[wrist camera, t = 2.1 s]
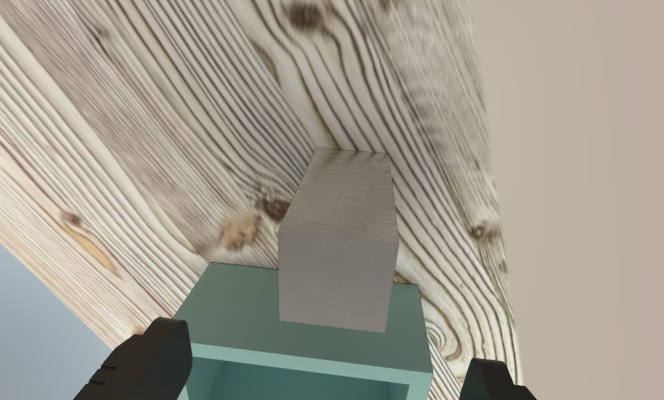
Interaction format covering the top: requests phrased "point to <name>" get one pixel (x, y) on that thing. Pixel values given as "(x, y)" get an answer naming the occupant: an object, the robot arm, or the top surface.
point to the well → (297, 345)
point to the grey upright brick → (339, 243)
